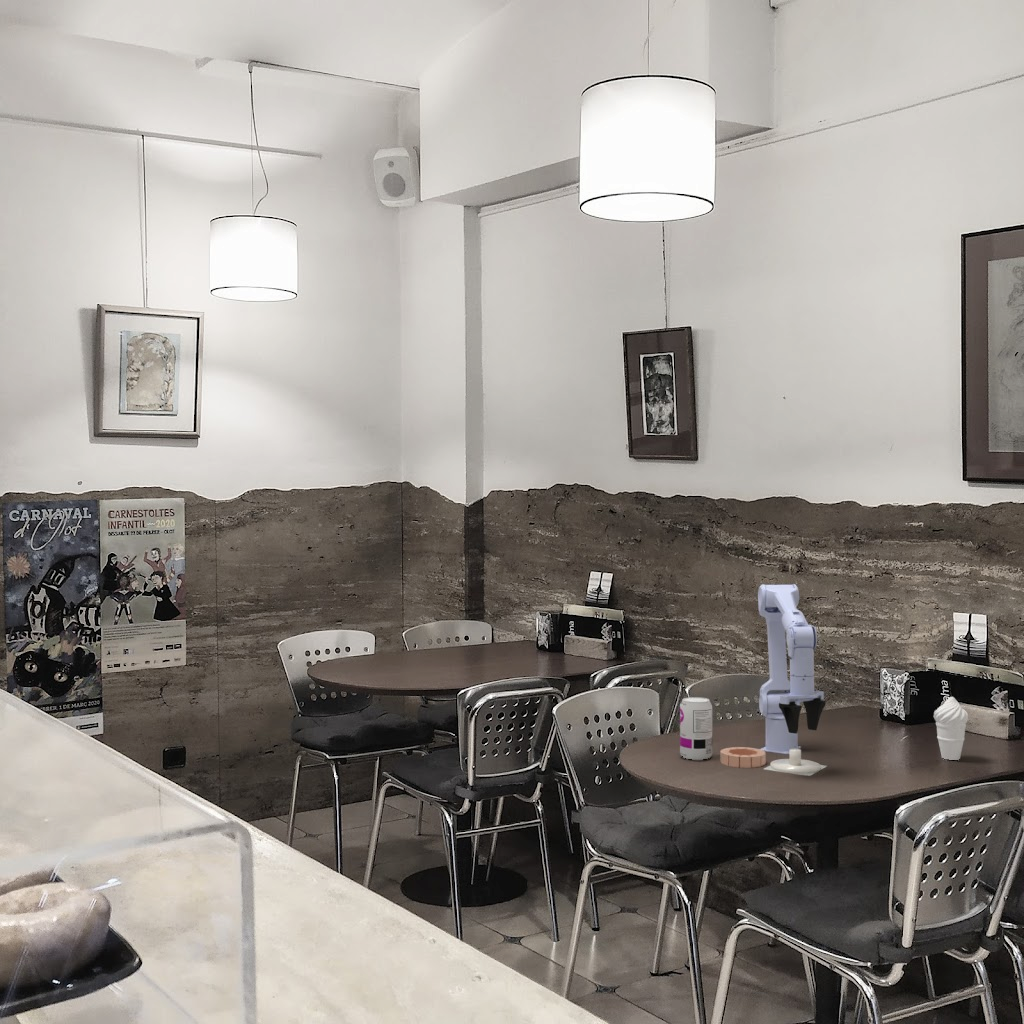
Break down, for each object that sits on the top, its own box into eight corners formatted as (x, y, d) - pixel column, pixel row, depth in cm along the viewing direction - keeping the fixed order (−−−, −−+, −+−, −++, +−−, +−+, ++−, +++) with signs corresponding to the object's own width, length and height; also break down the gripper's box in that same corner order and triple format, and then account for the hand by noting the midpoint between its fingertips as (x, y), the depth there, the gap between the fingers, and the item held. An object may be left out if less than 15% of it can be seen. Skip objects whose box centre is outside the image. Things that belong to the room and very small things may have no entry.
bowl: (731, 756, 300) (731, 745, 300) (772, 762, 294) (772, 750, 294) (713, 765, 291) (713, 753, 291) (754, 771, 285) (754, 759, 285)
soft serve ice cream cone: (960, 764, 291) (960, 701, 290) (927, 759, 296) (928, 697, 296) (973, 758, 297) (973, 696, 296) (941, 753, 302) (941, 692, 302)
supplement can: (677, 759, 298) (676, 701, 298) (684, 752, 305) (684, 696, 305) (708, 762, 295) (708, 703, 295) (715, 755, 302) (714, 697, 302)
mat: (781, 761, 295) (781, 759, 295) (827, 767, 288) (827, 765, 288) (762, 770, 285) (762, 769, 285) (809, 777, 279) (809, 775, 278)
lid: (781, 759, 295) (781, 742, 295) (827, 765, 288) (827, 748, 288) (762, 769, 285) (762, 751, 285) (809, 775, 278) (809, 757, 278)
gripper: (796, 679, 276) (797, 736, 275) (833, 674, 285) (834, 730, 284) (773, 676, 281) (773, 732, 281) (810, 672, 290) (810, 726, 290)
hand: (802, 731), depth 283 cm, fingers open, 7 cm apart
